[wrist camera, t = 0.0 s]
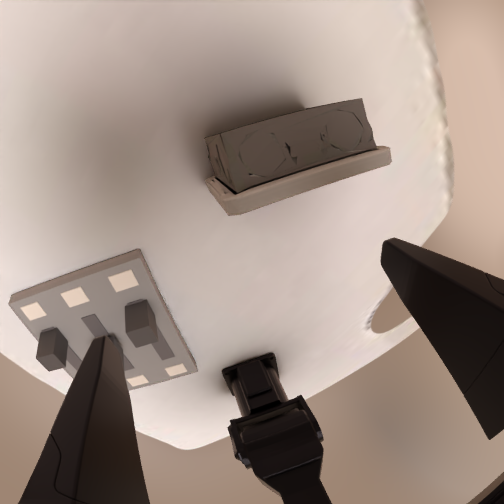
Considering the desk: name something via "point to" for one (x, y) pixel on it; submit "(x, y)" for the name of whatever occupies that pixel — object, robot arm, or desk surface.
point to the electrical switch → (291, 155)
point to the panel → (106, 320)
